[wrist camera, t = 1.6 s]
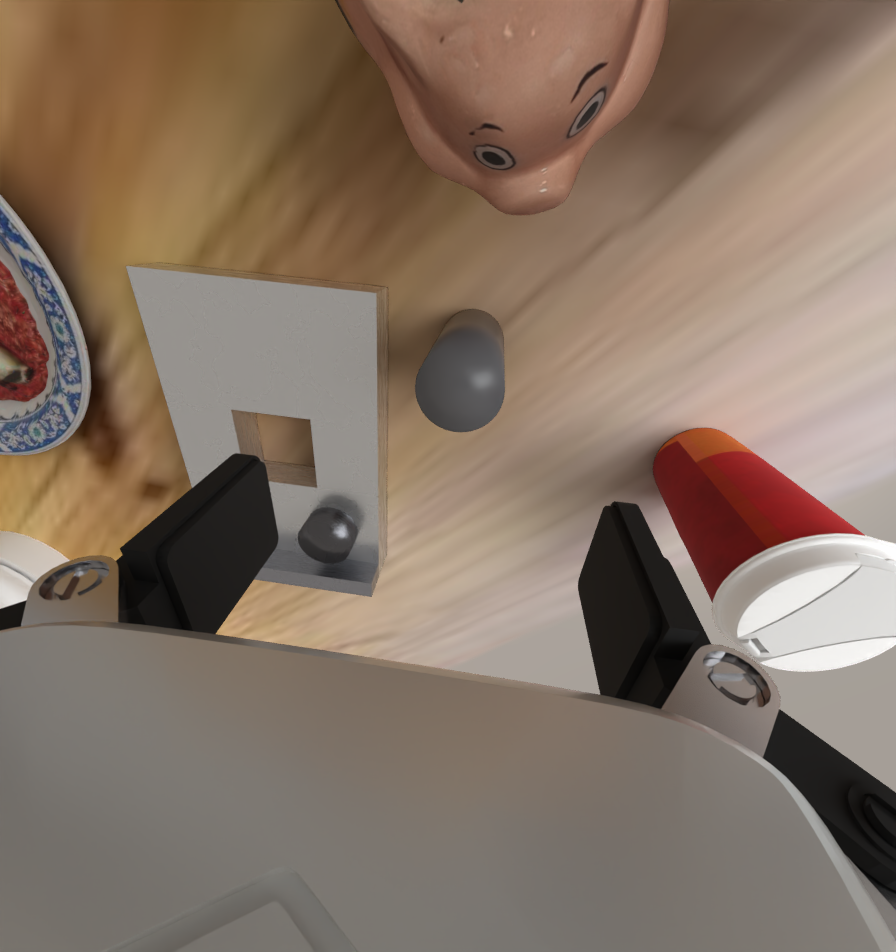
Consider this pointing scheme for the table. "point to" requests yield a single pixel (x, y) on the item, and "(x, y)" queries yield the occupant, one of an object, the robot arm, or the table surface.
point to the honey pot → (23, 565)
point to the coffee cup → (776, 558)
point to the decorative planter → (511, 84)
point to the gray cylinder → (463, 373)
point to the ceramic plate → (37, 347)
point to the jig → (282, 402)
